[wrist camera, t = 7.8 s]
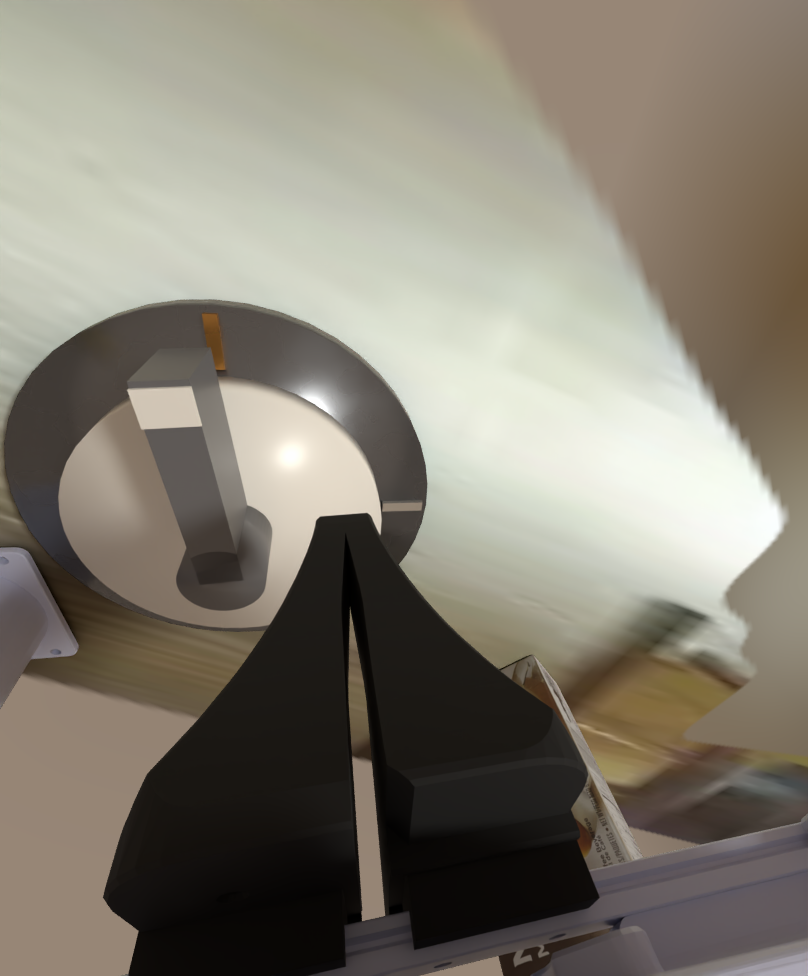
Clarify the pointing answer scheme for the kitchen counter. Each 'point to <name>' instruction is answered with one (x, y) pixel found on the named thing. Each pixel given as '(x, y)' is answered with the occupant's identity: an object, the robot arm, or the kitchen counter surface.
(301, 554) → the dial
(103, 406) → the dial plate
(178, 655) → the kitchen counter surface
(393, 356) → the kitchen counter surface
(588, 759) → the coffee box
